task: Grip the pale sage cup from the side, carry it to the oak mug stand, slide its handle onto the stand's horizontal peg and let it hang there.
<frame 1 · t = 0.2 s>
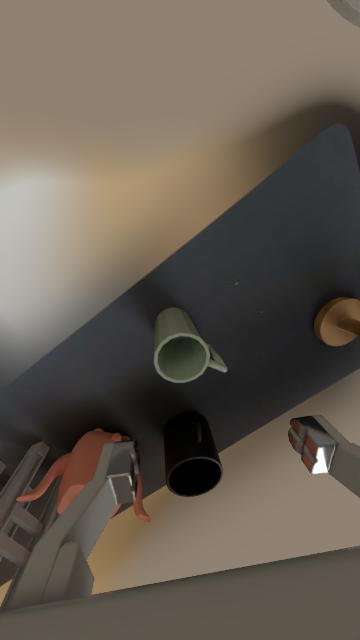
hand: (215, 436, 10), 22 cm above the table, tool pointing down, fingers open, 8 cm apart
mug stand: (336, 320, 34), on the table
mug: (187, 423, 38), on the table
cup: (173, 325, 31), on the table
stool: (34, 469, 37), on the table
teapot: (104, 449, 38), on the table
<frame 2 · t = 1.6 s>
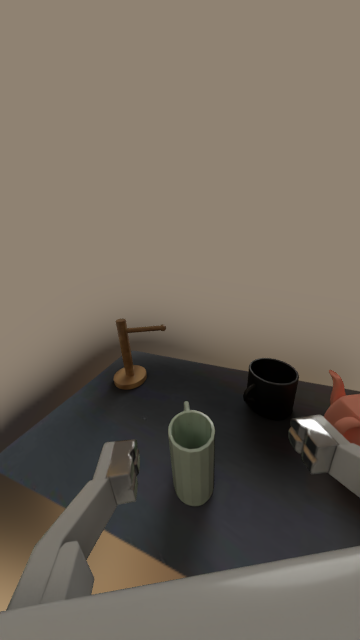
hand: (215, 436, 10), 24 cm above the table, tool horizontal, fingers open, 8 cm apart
mug stand: (130, 378, 53), on the table
mug: (263, 405, 42), on the table
cup: (193, 480, 29), on the table
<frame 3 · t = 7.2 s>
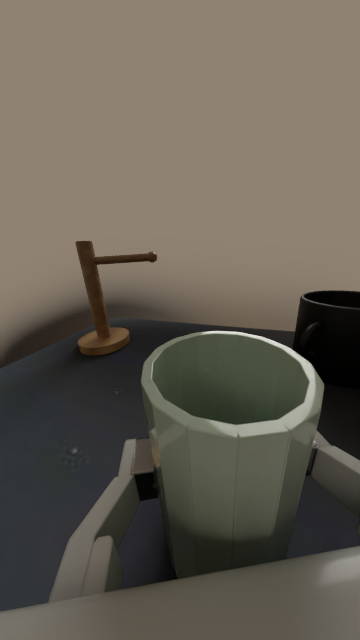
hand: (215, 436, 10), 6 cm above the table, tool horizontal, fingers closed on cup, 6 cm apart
mug stand: (105, 343, 35), on the table
mug: (326, 369, 24), on the table
cup: (220, 525, 11), on the table, touching gripper
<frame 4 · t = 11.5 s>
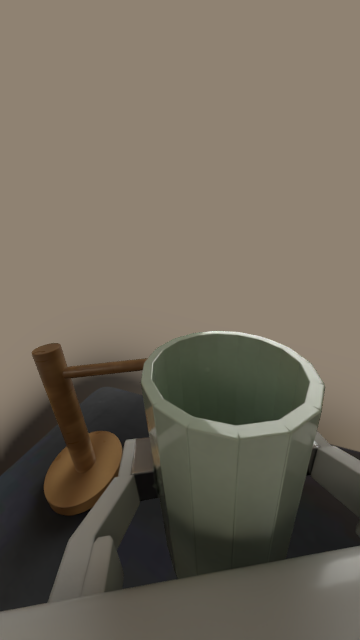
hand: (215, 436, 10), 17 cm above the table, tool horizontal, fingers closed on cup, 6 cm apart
mug stand: (88, 470, 24), on the table
cup: (220, 525, 11), point 11 cm above the table, touching gripper
when the fingers open (13 cm above the table, at t = 16.1 s): cup drops 1 cm and tips over, resting on mug stand.
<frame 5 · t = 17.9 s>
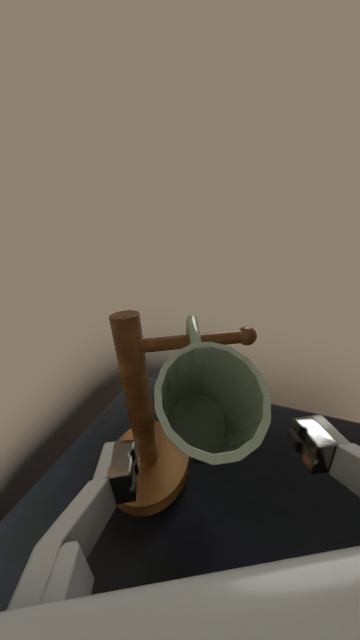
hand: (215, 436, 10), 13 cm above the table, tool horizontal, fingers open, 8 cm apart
mug stand: (149, 464, 21), on the table
cup: (196, 424, 19), point 6 cm above the table, tilted 33°, touching mug stand
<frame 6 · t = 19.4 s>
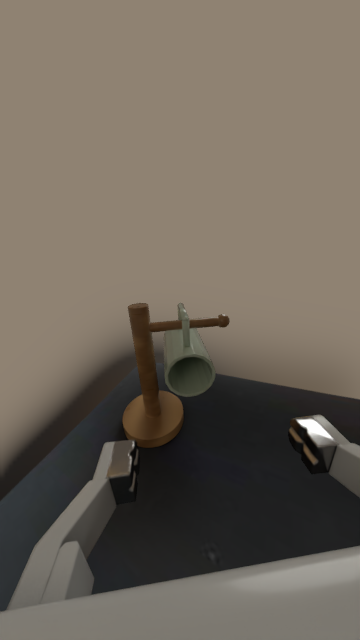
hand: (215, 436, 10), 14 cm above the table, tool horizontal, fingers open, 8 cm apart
mug stand: (154, 419, 28), on the table
cup: (181, 337, 33), point 10 cm above the table, tilted 91°, touching mug stand
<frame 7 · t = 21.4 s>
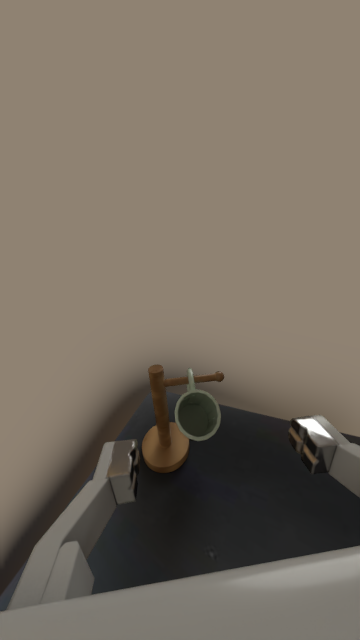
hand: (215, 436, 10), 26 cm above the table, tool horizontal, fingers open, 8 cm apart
mug stand: (166, 447, 36), on the table
cup: (192, 420, 34), point 6 cm above the table, tilted 38°, touching mug stand
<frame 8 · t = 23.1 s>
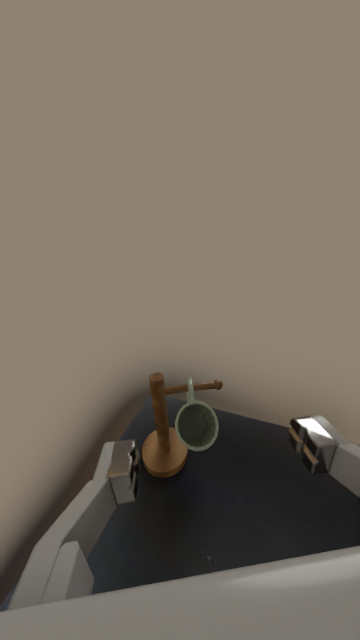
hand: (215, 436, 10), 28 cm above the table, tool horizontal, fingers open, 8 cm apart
mug stand: (165, 452, 37), on the table
cup: (191, 422, 36), point 6 cm above the table, tilted 43°, touching mug stand
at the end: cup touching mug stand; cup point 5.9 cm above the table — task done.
